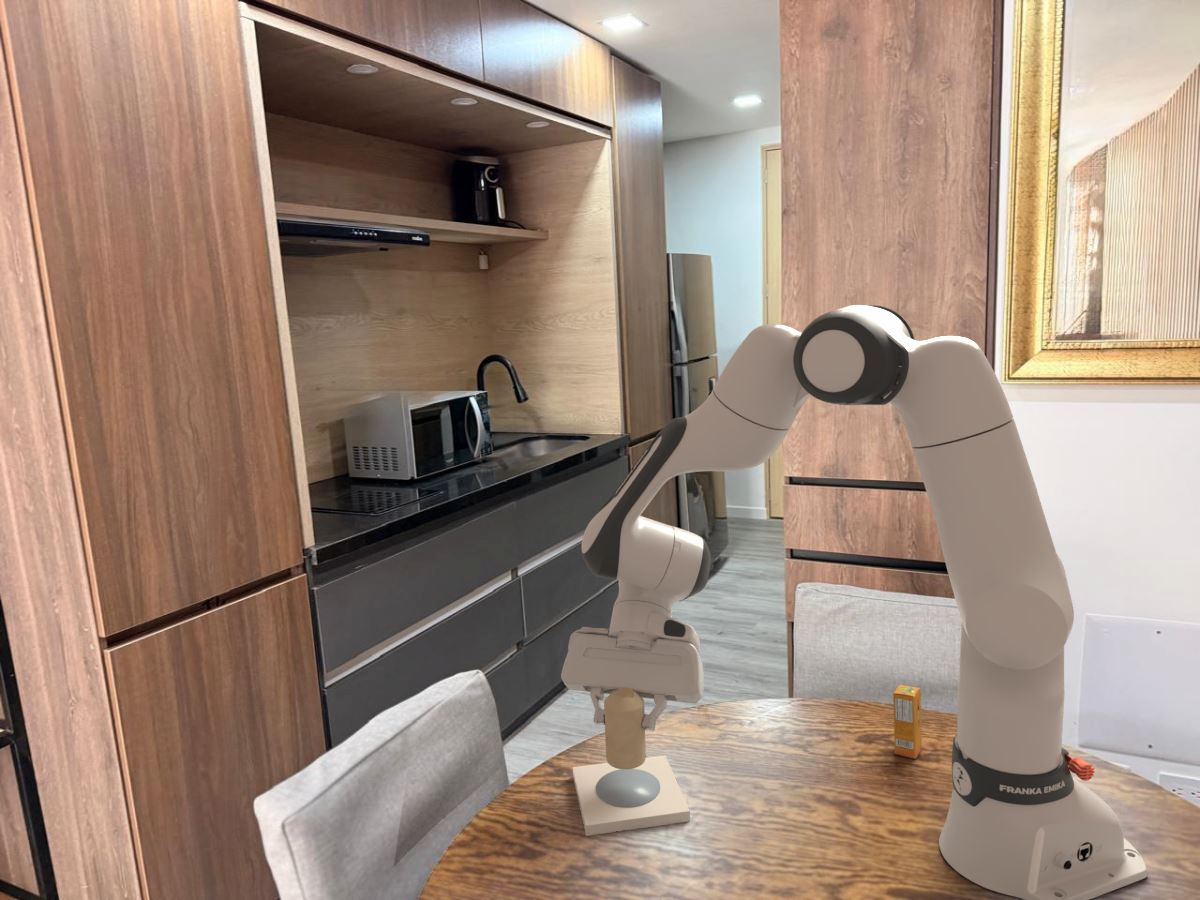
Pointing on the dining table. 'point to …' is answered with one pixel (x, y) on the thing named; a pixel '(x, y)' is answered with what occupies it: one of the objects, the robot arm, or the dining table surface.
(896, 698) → the supplement box
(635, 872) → the dining table surface
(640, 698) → the candle
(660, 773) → the base board
